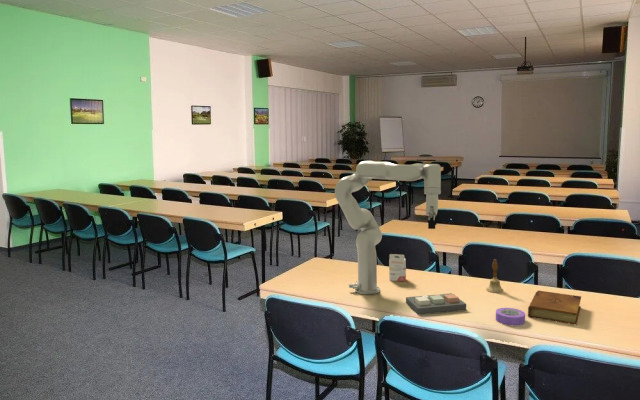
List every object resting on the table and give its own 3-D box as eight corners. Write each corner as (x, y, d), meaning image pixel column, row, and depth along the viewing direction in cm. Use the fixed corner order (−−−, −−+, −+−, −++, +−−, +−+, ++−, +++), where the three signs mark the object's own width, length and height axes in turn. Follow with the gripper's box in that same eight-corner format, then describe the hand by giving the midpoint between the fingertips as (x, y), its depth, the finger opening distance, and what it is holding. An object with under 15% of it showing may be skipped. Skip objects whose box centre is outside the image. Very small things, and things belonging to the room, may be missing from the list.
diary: (535, 302, 234) (536, 290, 233) (580, 308, 224) (581, 296, 223) (527, 317, 214) (528, 305, 213) (576, 326, 205) (577, 312, 204)
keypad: (417, 314, 219) (417, 306, 219) (405, 303, 234) (405, 295, 233) (466, 310, 223) (466, 302, 223) (451, 299, 238) (451, 291, 237)
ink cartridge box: (406, 278, 272) (406, 252, 269) (404, 281, 267) (404, 255, 265) (390, 277, 274) (390, 251, 272) (389, 280, 269) (388, 254, 267)
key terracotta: (448, 303, 225) (448, 298, 225) (443, 300, 230) (443, 294, 230) (458, 302, 226) (458, 297, 226) (453, 299, 231) (453, 293, 231)
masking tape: (501, 313, 219) (501, 305, 219) (528, 319, 212) (528, 311, 211) (491, 322, 210) (491, 313, 210) (519, 328, 203) (520, 319, 202)
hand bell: (498, 294, 244) (499, 262, 241) (482, 290, 250) (483, 259, 248) (506, 290, 249) (507, 259, 247) (491, 286, 255) (492, 256, 253)
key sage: (433, 305, 224) (433, 299, 224) (429, 301, 229) (429, 296, 228) (444, 304, 225) (444, 298, 224) (439, 300, 230) (439, 295, 229)
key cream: (419, 306, 223) (419, 301, 222) (415, 302, 228) (415, 297, 227) (429, 305, 224) (429, 300, 223) (425, 301, 228) (425, 296, 228)
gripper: (425, 188, 240) (425, 223, 243) (422, 193, 224) (422, 230, 226) (441, 188, 238) (441, 223, 241) (439, 193, 222) (439, 230, 224)
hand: (432, 226), depth 234 cm, fingers open, 9 cm apart
